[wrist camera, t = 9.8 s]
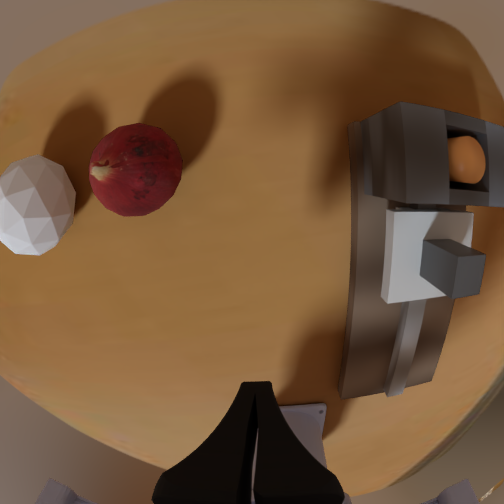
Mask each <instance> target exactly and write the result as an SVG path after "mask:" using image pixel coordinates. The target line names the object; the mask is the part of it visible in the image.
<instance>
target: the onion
mask: <svg viewBox="0 0 504 504" xmlns="http://www.w3.org/2000/svg"><path fill="white" fill-rule="evenodd" d="M182 162H183V160H182V157H181V155H180V152H179V149H178V147H177V144H176V143H175V141H174V140H173V139H171V138H170V137H169V136H168V135H167V134H166V133H165V132H164V131H163V130H162V129H161V128H158V127H153V126H149V125H145V124H141V123H136V124H131V125H126V126H121V127H118V128H116V129H115V130H113V131H112V132H111V133H109V134H108V135H106V136H105V137H104V138H103V139H102V140H101V141H100V142H99V144H98V145H97V146H96V148H95V149H94V150H93V153H92V156H91V160H90V164H89V181H90V184H91V187H92V190H93V192H94V195H95V196H96V197H97V198H98V200H99V201H100V202H101V203H102V204H103V205H104V206H105V208H107V209H109V210H111V211H113V212H115V213H117V214H119V215H121V216H144V215H147V214H149V213H151V212H153V211H155V210H157V209H159V208H160V207H161V206H163V205H164V204H165V203H166V202H167V201H168V200H169V199H170V198H171V197H172V196H173V195H174V193H175V191H176V188H177V186H178V184H179V182H180V180H181V173H182Z"/></svg>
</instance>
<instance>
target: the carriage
mask: <svg viewBox="0 0 504 504" xmlns="http://www.w3.org/2000/svg"><path fill="white" fill-rule="evenodd" d="M473 216H474V213H472V212H468V211H464V210H450V209H446V208H436V210H420V209H412V208H408V207H396V209H386V238H385V256H384V269H383V281H382V290H381V297H382V298H383V299H384V301H385V302H386V303H387V304H389V303H397V302H405V301H413V300H420V299H428V298H434V297H441V296H448V297H449V298H450V299H455V298H461V297H466V296H472V295H477V294H479V292H480V287H481V282H482V277H483V271H484V265H485V259H486V254H484V253H481V252H479V251H477V250H475V249H473V248H471V241H472V231H473Z"/></svg>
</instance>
